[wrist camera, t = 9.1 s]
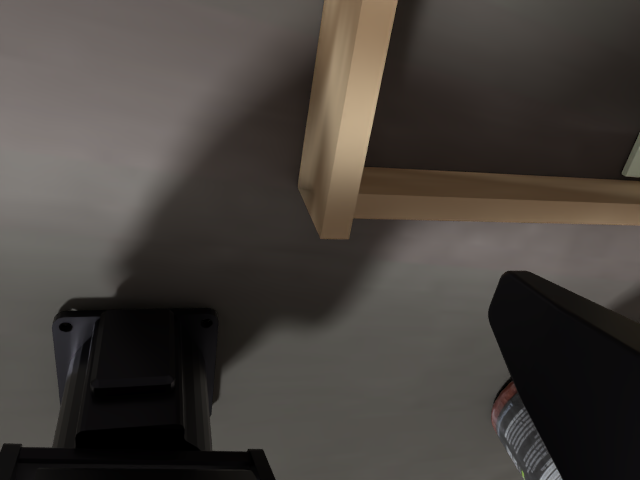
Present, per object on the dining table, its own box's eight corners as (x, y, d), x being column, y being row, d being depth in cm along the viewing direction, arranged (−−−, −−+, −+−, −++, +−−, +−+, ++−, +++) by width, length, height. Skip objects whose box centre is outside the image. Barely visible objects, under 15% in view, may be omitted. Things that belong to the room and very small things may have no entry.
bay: (708, 203, 28) (781, 245, 24) (297, 186, 22) (320, 238, 19) (893, -131, 21) (1029, -135, 18) (364, -280, 15) (419, -329, 12)
